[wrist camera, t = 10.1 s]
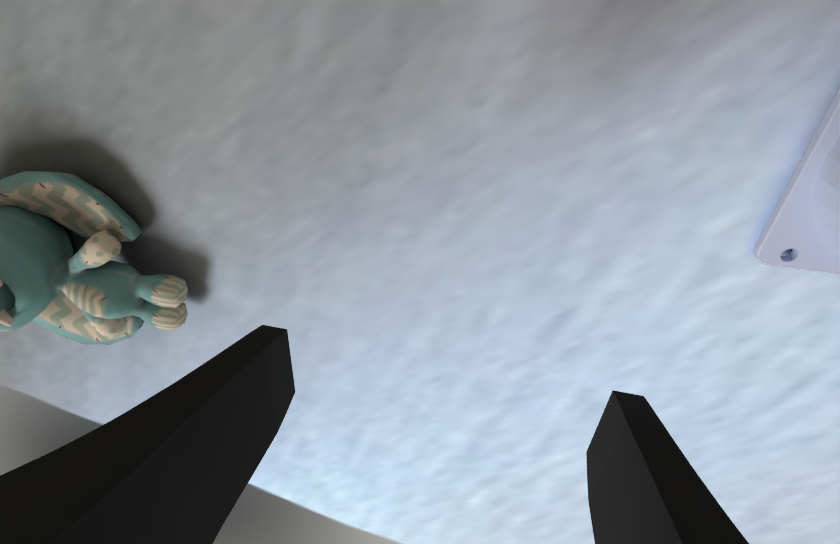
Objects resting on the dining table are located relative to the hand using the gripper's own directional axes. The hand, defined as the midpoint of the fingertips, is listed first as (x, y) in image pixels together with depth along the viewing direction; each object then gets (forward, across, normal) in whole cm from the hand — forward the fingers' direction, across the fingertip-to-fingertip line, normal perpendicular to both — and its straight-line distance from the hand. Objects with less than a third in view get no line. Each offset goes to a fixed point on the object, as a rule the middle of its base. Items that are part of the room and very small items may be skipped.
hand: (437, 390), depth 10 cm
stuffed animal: (+10, +19, +5) cm, 22 cm away
